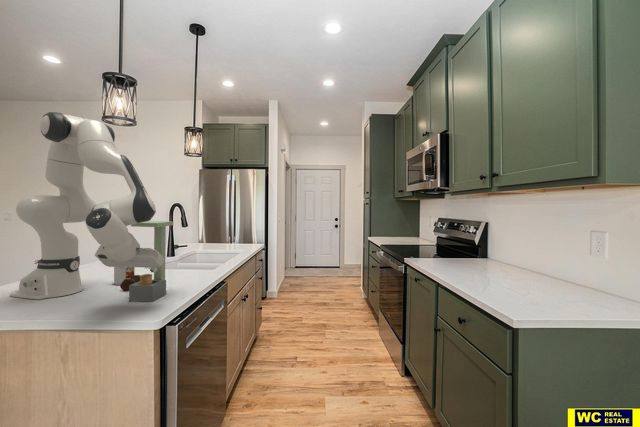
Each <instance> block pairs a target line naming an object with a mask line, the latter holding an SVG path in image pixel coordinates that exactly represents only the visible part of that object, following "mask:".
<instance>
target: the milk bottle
mask: <svg viewBox="0 0 640 427" xmlns="http://www.w3.org/2000/svg"><path fill="white" fill-rule="evenodd" d="M135 268H136V267H132V270H131V272H126V271H125V270H123V269H121V268H119V267H113V272H114V273H113V283H114V285H117V286H120V285H121V283H122V282H123V281H124V279H130V278H131V277H132V276H133V275H135V272H136V270H135Z"/></svg>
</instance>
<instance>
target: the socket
mask: <svg viewBox="0 0 640 427" xmlns="http://www.w3.org/2000/svg"><path fill="white" fill-rule="evenodd" d="M128 292H129V293H128V301H129V302H142V303H143V302H147V303H153V302H155V301H157V300H159V299H161V298H163V297H165V296H166V295H167V279H165V280H154V279H152V284H151V285H146V284H140V281H139V282H136V283H134V284H131V285H129V291H128Z"/></svg>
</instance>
